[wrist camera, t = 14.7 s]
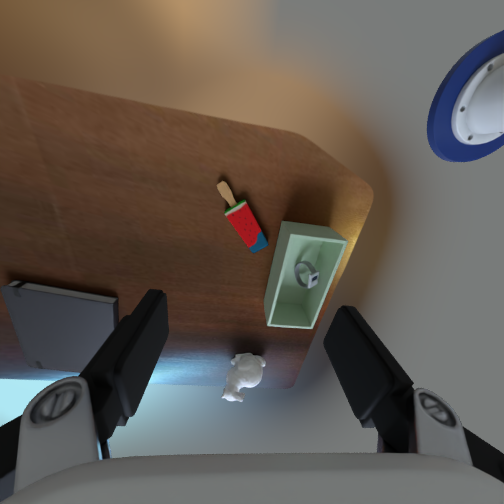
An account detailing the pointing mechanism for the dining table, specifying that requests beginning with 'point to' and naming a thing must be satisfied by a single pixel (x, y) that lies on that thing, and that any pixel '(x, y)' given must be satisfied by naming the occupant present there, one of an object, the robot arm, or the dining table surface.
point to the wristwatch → (312, 276)
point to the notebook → (59, 324)
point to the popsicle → (243, 220)
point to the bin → (301, 273)
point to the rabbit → (243, 375)
